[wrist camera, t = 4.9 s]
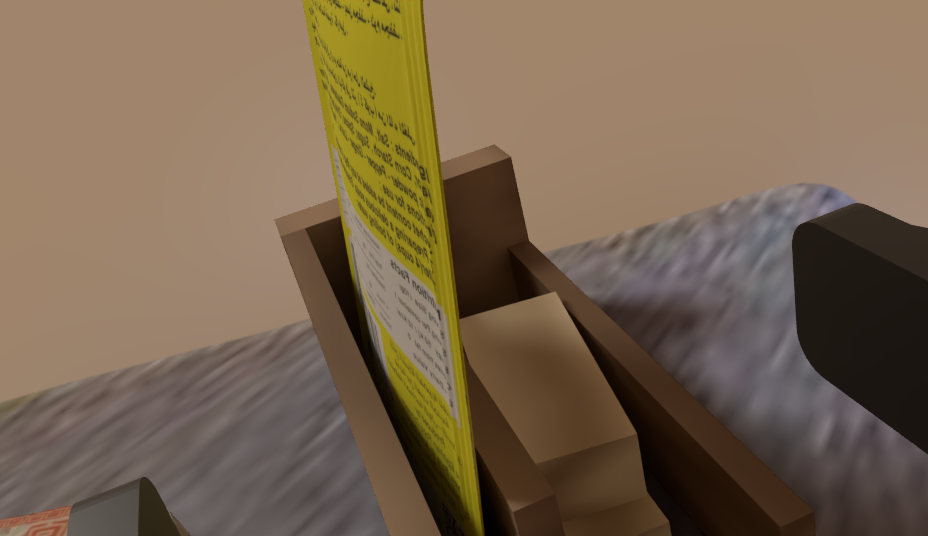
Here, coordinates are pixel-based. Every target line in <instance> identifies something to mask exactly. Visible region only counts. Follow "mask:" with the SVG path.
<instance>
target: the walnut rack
mask: <svg viewBox="0 0 928 536" xmlns="http://www.w3.org/2000/svg"><path fill="white" fill-rule="evenodd" d="M441 170H442V178H443V186H444V195H445V203H446V211H447V219H448V227H449V235H450V243H451V252H452V260H453V269H454V277H455V286H456V294H457V302H458V311H459V319H462V318H466V317H469V316H473V315H476V314H479V313H483V312H486V311H490V310H493V309H497V308H500V307H504V306H507V305H511V304H514V303H518V302H521V301H524V300H528V299H531V298H535V297H538V296H542V295H545V294H549V293H552V292H556V293H557V295H558V297H559V299H560V300H561V302H562V304H563V306H564V307H565V309H566V311H567V313H568V314H569V316H570V318H571V319H572V321H573V323H574V325H575V326H576V328H577V330H578V332H579V333H580V335H581V337H582V339H583V340H584V342H585V344H586V346H587V347H588V349H589V351H590V353H591V354H592V356H593V358H594V360H595V361H596V363H597V365H598V367H599V368H600V370H601V372H602V374H603V375H604V377H605V379H606V380H607V382H608V384H609V386H610V387H611V389H612V391H613V393H614V394H615V396H616V398H617V400H618V401H619V403H620V405H621V407H622V408H623V410H624V412H625V414H626V415H627V417H628V419H629V421H630V422H631V424H632V426H633V428H634V429H635V431H636V433H637V437H638V443H639V449H640V455H641V460H642V461H643V463H644V464H645V465H646V466H647V467H648V469H649V470H650V471H651V472H652V473H653V474H654V476H655V477H656V478H657V479H658V480H659V482H660V483H661V484H662V485H663V486H664V487H665V489H666V490H667V491H668V492H669V493H670V495H671V496H672V497H673V498H674V499H675V500H676V502H677V503H678V504H679V505H680V506H681V507H682V509H683V510H684V511H685V512H686V513H687V515H688V516H689V517H690V518H691V519H692V520H693V522H694V523H695V524H696V525H697V526H698V528H699V529H700V530H701V531H702V532H703V533H704V535H705V536H815V518H814V511H813V510H812V509H811V508H810V507H809V506H808V505H807V504H806V503H805V502H804V501H803V500H802V499H801V498H800V497H798V496H797V495H796V494H795V493H794V492H793V491H792V490H791V489H790V488H789V487H788V486H787V485H786V484H785V483H784V482H783V481H782V480H781V479H779V478H778V477H777V476H776V475H775V474H774V473H773V472H772V471H771V470H770V469H769V468H768V467H767V466H766V465H765V464H764V463H763V462H762V461H761V460H759V459H758V458H757V457H756V456H755V455H754V454H753V453H752V452H751V451H750V450H749V449H748V448H747V447H746V446H745V445H744V444H743V443H742V442H740V441H739V440H738V439H737V438H736V437H735V436H734V435H733V434H732V433H731V432H730V431H729V430H728V429H727V428H726V427H725V426H724V425H723V424H722V423H720V422H719V421H718V420H717V419H716V418H715V417H714V416H713V415H712V414H711V413H710V412H709V411H708V410H707V409H706V408H705V407H704V406H703V405H701V404H700V403H699V402H698V401H697V400H696V399H695V398H694V397H693V396H692V395H691V394H690V393H689V392H688V391H687V390H686V389H685V388H684V387H683V386H681V385H680V384H679V383H678V382H677V381H676V380H675V379H674V378H673V377H672V376H671V375H670V374H669V373H668V372H667V371H666V370H665V369H664V368H662V367H661V366H660V365H659V364H658V363H657V362H656V361H655V360H654V359H653V358H652V357H651V356H650V355H649V354H648V353H647V352H646V351H645V350H644V349H642V348H641V347H640V346H639V345H638V344H637V343H636V342H635V341H634V340H633V339H632V338H631V337H630V336H629V335H628V334H627V333H626V332H625V331H623V330H622V329H621V328H620V327H619V326H618V325H617V324H616V323H615V322H614V321H613V320H612V319H611V318H610V317H609V316H608V315H607V314H606V313H605V312H603V311H602V310H601V309H600V308H599V307H598V306H597V305H596V304H595V303H594V302H593V301H592V300H591V299H590V298H589V297H588V296H587V295H586V294H584V293H583V292H582V291H581V290H580V289H579V288H578V287H577V286H576V285H575V284H574V283H573V282H572V281H571V280H570V279H569V278H568V277H567V276H566V275H564V274H563V273H562V272H561V271H560V270H559V269H558V268H557V267H556V266H555V265H554V264H553V263H552V262H551V261H550V260H549V259H548V258H547V257H545V256H544V255H543V254H542V253H541V252H540V251H539V250H538V249H537V248H536V247H535V246H534V245H533V244H532V243H531V242H530V241H529V239H528V234H527V230H526V226H525V221H524V216H523V211H522V206H521V202H520V197H519V192H518V188H517V183H516V178H515V174H514V169H513V164H512V160H511V157H510V156H509V155H508V154H506V153H505V152H503V151H502V150H501V149H500V148H498V147H497V146H496V145H492V146H489V147H486V148H483V149H480V150H477V151H474V152H471V153H468V154H465V155H462V156H459V157H457V158H454V159H451V160H448V161H445V162H442V163H441ZM275 223H276V225H277V228H278V231H279V234H280V236H281V239H282V242H283V245H284V247H285V250H286V253H287V255H288V258H289V261H290V264H291V266H292V269H293V271H294V274H295V277H296V280H297V283H298V285H299V288H300V291H301V293H302V296H303V299H304V302H305V304H306V307H307V310H308V312H309V315H310V318H311V321H312V323H313V326H314V329H315V332H316V334H317V337H318V340H319V342H320V345H321V348H322V351H323V353H324V356H325V359H326V361H327V364H328V367H329V370H330V372H331V375H332V378H333V380H334V383H335V386H336V389H337V391H338V394H339V397H340V399H341V402H342V405H343V408H344V410H345V413H346V416H347V419H348V421H349V424H350V427H351V430H352V432H353V435H354V438H355V441H356V443H357V446H358V449H359V452H360V454H361V457H362V460H363V463H364V465H365V468H366V471H367V474H368V476H369V479H370V482H371V484H372V487H373V490H374V493H375V495H376V498H377V501H378V504H379V506H380V509H381V512H382V515H383V517H384V520H385V523H386V526H387V528H388V531H389V534H390V536H441V534H440V532H439V530H438V528H437V525H436V523H435V521H434V519H433V516H432V514H431V512H430V509H429V507H428V505H427V503H426V500H425V498H424V496H423V494H422V491H421V489H420V487H419V485H418V482H417V480H416V478H415V476H414V473H413V471H412V469H411V467H410V464H409V462H408V460H407V458H406V455H405V453H404V451H403V449H402V446H401V444H400V442H399V439H398V437H397V435H396V433H395V430H394V428H393V426H392V424H391V421H390V419H389V417H388V415H387V412H386V410H385V408H384V406H383V403H382V401H381V399H380V397H379V394H378V392H377V390H376V388H375V385H374V383H373V381H372V378H371V376H370V374H369V372H368V368H367V363H366V357H365V351H364V345H363V340H362V334H361V328H360V322H359V316H358V311H357V305H356V299H355V293H354V288H353V282H352V276H351V271H350V265H349V259H348V254H347V248H346V242H345V237H344V231H343V225H342V220H341V214H340V208H339V203H338V198H336V199H333V200H331V201H328V202H325V203H322V204H319V205H316V206H313V207H310V208H307V209H304V210H301V211H298V212H295V213H292V214H290V215H287V216H284V217H281V218H278V219H275ZM464 362H465V370H466V379H467V387H468V396H469V404H470V413H471V421H472V430H473V438H474V447H475V455H476V464H477V472H478V480H479V489H480V497H481V506H482V514H483V523H484V531H485V536H565V534H564V529H563V525H562V521H561V517H560V512H559V508H558V504H557V500H556V495H555V493H554V491H553V490H552V488H551V487H550V485H549V484H548V482H547V481H546V479H545V478H544V476H543V475H542V473H541V472H540V470H539V469H538V467H537V466H536V464H535V463H534V461H533V460H532V458H531V456H530V455H529V453H528V452H527V450H526V449H525V447H524V446H523V444H522V443H521V441H520V440H519V438H518V437H517V435H516V434H515V432H514V431H513V429H512V428H511V426H510V425H509V423H508V422H507V420H506V419H505V417H504V416H503V414H502V413H501V411H500V410H499V408H498V406H497V405H496V403H495V402H494V400H493V399H492V397H491V396H490V394H489V393H488V391H487V390H486V388H485V387H484V385H483V384H482V382H481V381H480V379H479V378H478V376H477V375H476V373H475V372H474V370H473V369H472V367H471V366H470V364H469V363H468V361H467V360H466V358H465V356H464Z"/></svg>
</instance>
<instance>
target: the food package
mask: <svg viewBox="0 0 928 536" xmlns="http://www.w3.org/2000/svg"><path fill="white" fill-rule="evenodd" d="M303 6H304V12H305V17H306V22H307V28H308V34H309V40H310V45H311V51H312V56H313V62H314V67H315V73H316V79H317V84H318V90H319V95H320V101H321V107H322V112H323V118H324V124H325V129H326V135H327V141H328V146H329V151H330V158H331V163H332V169H333V174H334V180H335V186H336V192H337V197H338V203H339V208H340V214H341V220H342V225H343V231H344V237H345V242H346V248H347V254H348V259H349V265H350V271H351V276H352V282H353V288H354V293H355V299H356V305H357V311H358V316H359V322H360V328H361V334H362V340H363V345H364V351H365V357H366V363H367V368H368V372H369V374H370V376H371V378H372V381H373V383H374V385H375V388H376V390H377V392H378V394H379V397H380V399H381V401H382V403H383V406H384V408H385V410H386V412H387V415H388V417H389V419H390V421H391V424H392V426H393V428H394V430H395V433H396V435H397V437H398V439H399V442H400V444H401V446H402V449H403V451H404V453H405V455H406V458H407V460H408V462H409V464H410V467H411V469H412V471H413V473H414V476H415V478H416V480H417V482H418V485H419V487H420V489H421V491H422V494H423V496H424V498H425V500H426V503H427V505H428V507H429V509H430V512H431V514H432V516H433V519H434V521H435V523H436V525H437V528H438V530H439V532H440V534H441V536H485V531H484V523H483V514H482V506H481V497H480V489H479V480H478V472H477V464H476V455H475V447H474V438H473V430H472V421H471V413H470V404H469V396H468V387H467V379H466V370H465V362H464V353H463V345H462V336H461V328H460V319H459V311H458V302H457V294H456V286H455V277H454V269H453V260H452V252H451V243H450V235H449V227H448V219H447V211H446V203H445V195H444V186H443V178H442V170H441V162H440V154H439V146H438V138H437V129H436V121H435V113H434V105H433V97H432V89H431V80H430V72H429V64H428V55H427V45H426V35H425V25H424V14H423V0H303Z"/></svg>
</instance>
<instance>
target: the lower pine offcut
mask: <svg viewBox="0 0 928 536" xmlns="http://www.w3.org/2000/svg"><path fill="white" fill-rule="evenodd" d="M464 356H465V354H464ZM562 525H563V529H564V534H565V536H671V530H670V524H669V521H668V520H667V518H666V517H665V515H664V514H663V513H662V511H661V510H660V509H659V507H658V506H657V505H656V503H655V502H654V501H653V499H652V498H651V497H650V495H649V494H648V492H647V497H645V498H642V499H638V500H635V501H632V502H628V503H625V504H622V505H619V506H615V507H612V508H609V509H605V510H602V511H599V512H595V513H592V514H589V515H586V516H582V517H579V518H576V519H572V520H569V521H566V522H562Z"/></svg>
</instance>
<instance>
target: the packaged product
mask: <svg viewBox="0 0 928 536" xmlns="http://www.w3.org/2000/svg"><path fill="white" fill-rule="evenodd" d="M71 508H72V506H65V507H61V508H57V509H52V510H47V511H43V512H40V513H32V514H30V515H26V516H17V517H12V518H7V519H3V520H0V536H67V530H68V522H69V515H70V510H71ZM169 514H170V516H171V518H172V520H173V522H174V524H175V526H176V528H177V529H178V531H179V533H180V535H181V536H190V534H189V533H188V531H187V530H186V529H185V528H184V527H183V526H182V525H181V524H180V522H179V521H178V520H177V519H176V518H175V517H174V516H173V515H172V513H171V512H170V511H169Z"/></svg>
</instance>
